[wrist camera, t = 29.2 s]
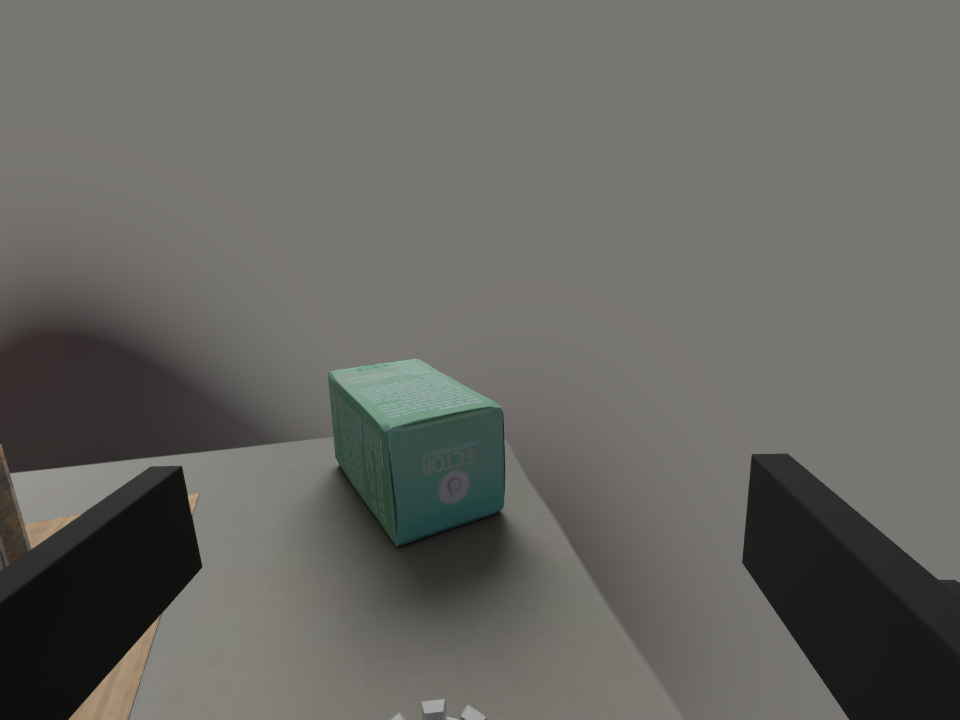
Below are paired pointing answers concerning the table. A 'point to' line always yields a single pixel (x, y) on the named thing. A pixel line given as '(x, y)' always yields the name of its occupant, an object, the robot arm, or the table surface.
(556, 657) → the table surface
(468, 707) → the rook chess piece
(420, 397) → the box
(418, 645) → the table surface
